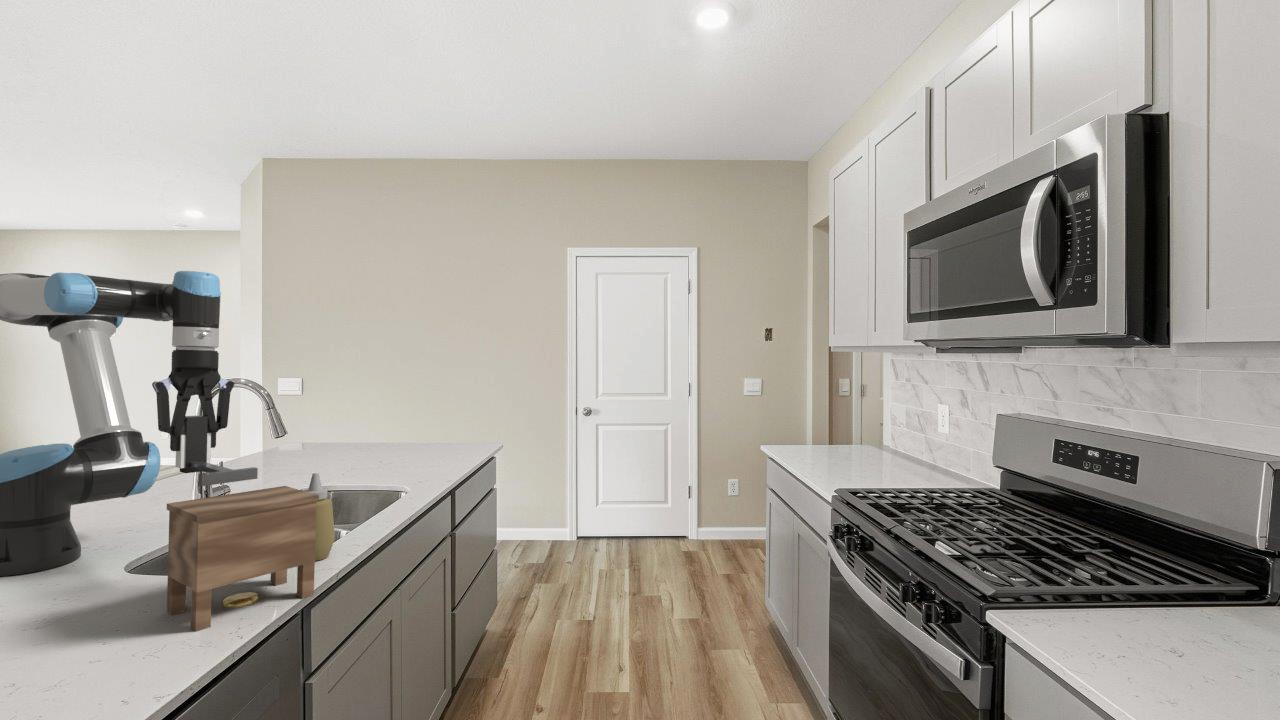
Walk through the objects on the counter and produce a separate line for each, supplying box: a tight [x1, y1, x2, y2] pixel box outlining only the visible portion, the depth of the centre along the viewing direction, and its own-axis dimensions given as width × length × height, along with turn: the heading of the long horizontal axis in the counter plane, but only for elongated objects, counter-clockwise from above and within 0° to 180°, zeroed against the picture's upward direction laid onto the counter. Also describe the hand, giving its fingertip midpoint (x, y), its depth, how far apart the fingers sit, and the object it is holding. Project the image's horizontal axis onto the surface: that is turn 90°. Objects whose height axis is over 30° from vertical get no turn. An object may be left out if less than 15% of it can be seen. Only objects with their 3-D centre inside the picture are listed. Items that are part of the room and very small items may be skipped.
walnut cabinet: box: [166, 485, 319, 632], centre depth 102 cm, size 13×19×18 cm
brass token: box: [222, 591, 259, 609], centre depth 103 cm, size 5×5×1 cm
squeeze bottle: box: [304, 472, 336, 562], centre depth 126 cm, size 8×8×18 cm
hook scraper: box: [179, 414, 259, 487], centre depth 113 cm, size 19×9×11 cm, turn 56°
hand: (193, 465), depth 118 cm, fingers closed on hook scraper, 3 cm apart
